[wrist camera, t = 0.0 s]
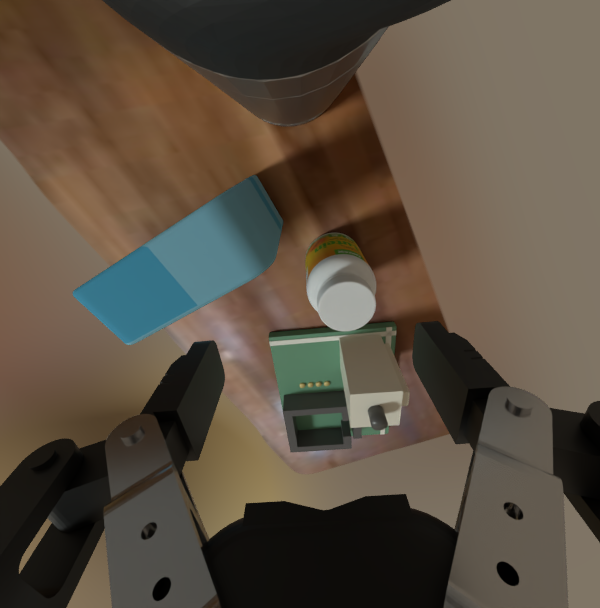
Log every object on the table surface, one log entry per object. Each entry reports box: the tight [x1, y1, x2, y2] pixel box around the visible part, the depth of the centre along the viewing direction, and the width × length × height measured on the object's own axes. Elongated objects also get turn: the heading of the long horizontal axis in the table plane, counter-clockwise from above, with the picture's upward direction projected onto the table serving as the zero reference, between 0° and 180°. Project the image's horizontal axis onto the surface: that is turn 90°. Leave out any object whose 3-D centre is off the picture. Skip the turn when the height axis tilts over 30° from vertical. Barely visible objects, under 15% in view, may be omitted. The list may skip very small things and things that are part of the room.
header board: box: [269, 322, 397, 436], centre depth 35 cm, size 18×14×1 cm
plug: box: [339, 334, 410, 430], centre depth 28 cm, size 4×6×10 cm
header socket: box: [283, 381, 362, 452], centre depth 35 cm, size 10×9×2 cm
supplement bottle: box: [306, 233, 376, 331], centre depth 23 cm, size 5×5×10 cm
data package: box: [73, 175, 283, 345], centre depth 21 cm, size 12×4×12 cm, turn 120°
